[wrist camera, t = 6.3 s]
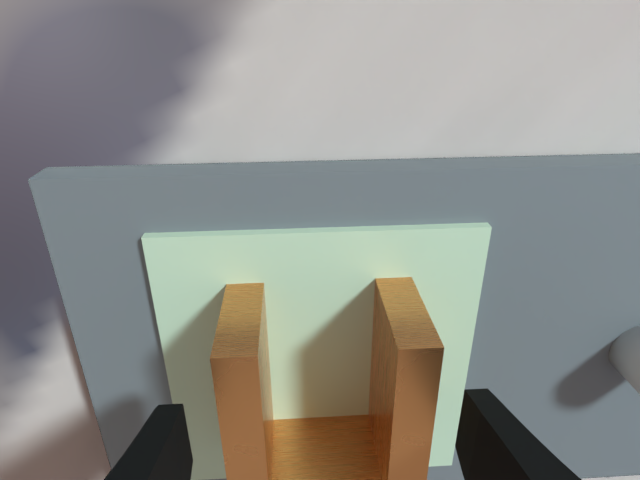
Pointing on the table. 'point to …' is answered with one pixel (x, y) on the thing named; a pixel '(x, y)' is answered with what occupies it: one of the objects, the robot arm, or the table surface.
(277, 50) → the table surface
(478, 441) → the robot arm
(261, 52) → the table surface
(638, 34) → the table surface
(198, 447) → the peg board
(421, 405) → the c link
